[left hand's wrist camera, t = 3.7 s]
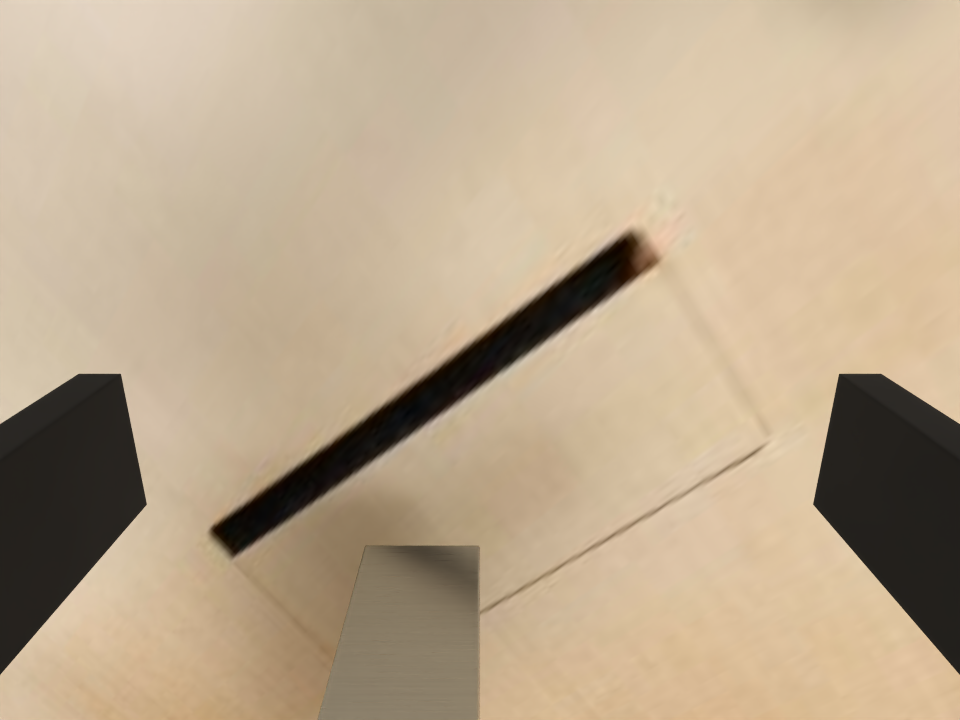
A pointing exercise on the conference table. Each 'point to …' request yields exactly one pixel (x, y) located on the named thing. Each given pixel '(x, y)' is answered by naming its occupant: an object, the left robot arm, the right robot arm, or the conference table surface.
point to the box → (410, 638)
